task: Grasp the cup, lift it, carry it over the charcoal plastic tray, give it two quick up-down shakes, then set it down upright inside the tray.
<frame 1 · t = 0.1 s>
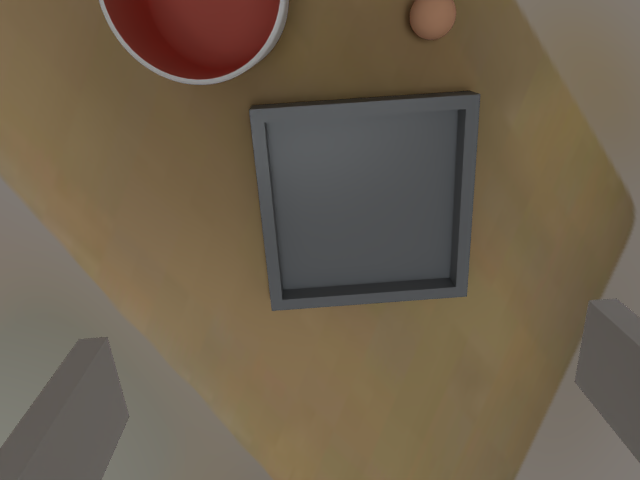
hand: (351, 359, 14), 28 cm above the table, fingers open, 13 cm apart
ball: (426, 16, 36), on the table
tray: (363, 201, 41), on the table
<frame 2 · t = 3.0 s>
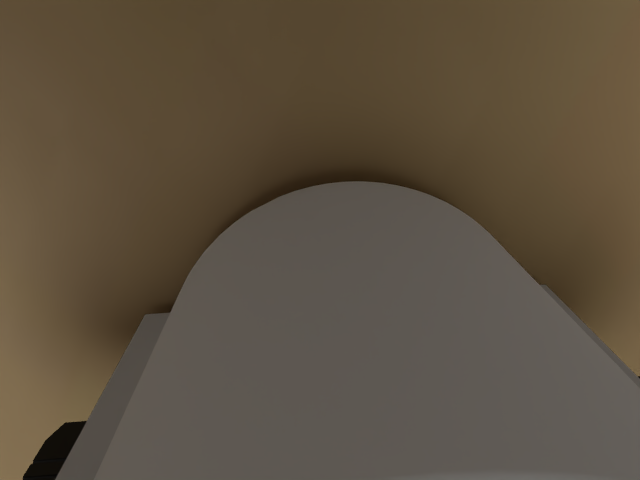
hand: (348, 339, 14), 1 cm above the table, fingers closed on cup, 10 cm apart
cup: (345, 323, 15), on the table, touching gripper
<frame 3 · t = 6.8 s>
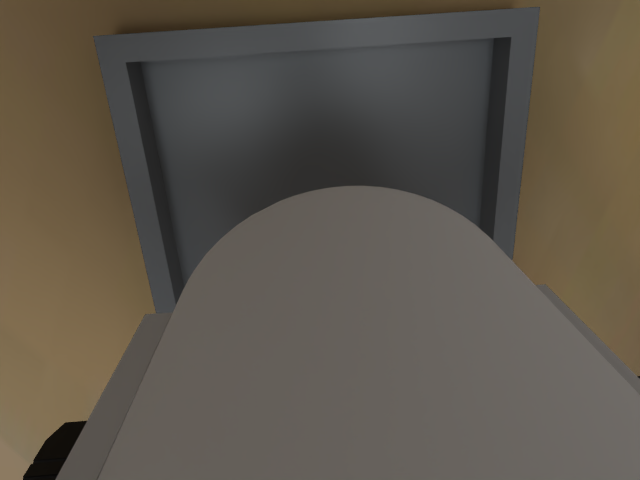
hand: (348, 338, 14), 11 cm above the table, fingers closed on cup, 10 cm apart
cup: (346, 327, 15), point 10 cm above the table, touching gripper
tray: (326, 210, 24), on the table
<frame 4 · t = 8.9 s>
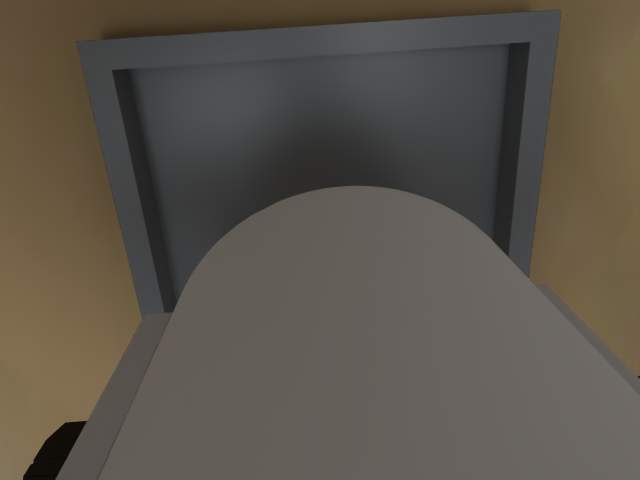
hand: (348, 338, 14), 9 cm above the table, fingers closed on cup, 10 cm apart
cup: (346, 326, 15), point 8 cm above the table, touching gripper
tray: (329, 226, 23), on the table
when the fingers open (3 cm above the table, at t = 10.5 s): cup drops 2 cm, resting on tray.
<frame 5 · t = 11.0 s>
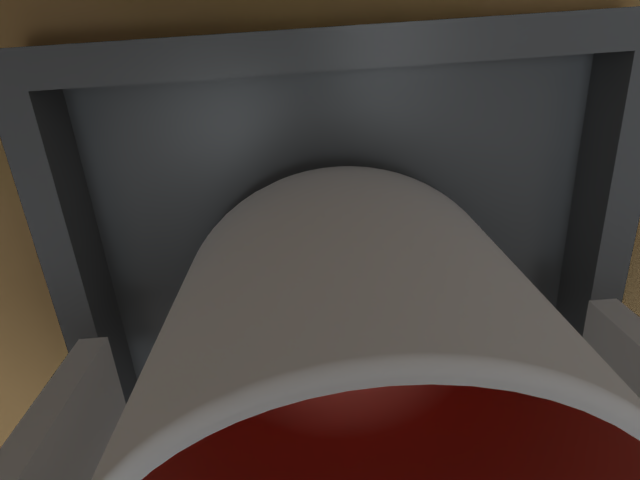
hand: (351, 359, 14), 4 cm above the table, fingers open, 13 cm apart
cup: (340, 297, 17), resting on tray
tray: (340, 291, 17), on the table
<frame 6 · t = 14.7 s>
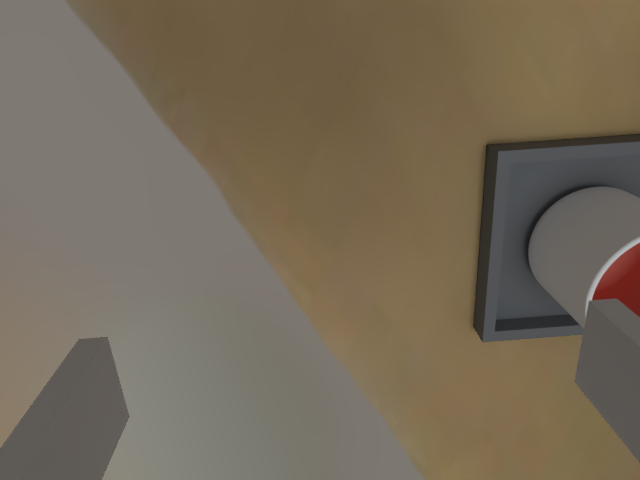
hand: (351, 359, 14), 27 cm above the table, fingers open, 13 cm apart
cup: (579, 237, 42), resting on tray
tray: (577, 235, 42), on the table
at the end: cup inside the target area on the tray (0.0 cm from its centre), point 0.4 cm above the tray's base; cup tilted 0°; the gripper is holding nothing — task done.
